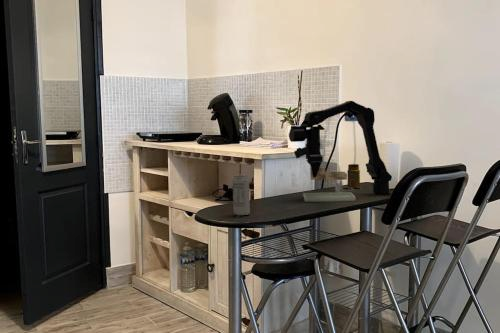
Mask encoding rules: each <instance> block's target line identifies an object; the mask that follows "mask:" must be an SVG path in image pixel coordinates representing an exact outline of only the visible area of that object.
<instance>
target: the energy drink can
mask: <svg viewBox="0 0 500 333" xmlns="http://www.w3.org/2000/svg"><path fill="white" fill-rule="evenodd" d="M250 198H251V197H250V179H249V177H248V174H244V173H243V174H234V175H233V178H232V199H233V200H232V201H233V202H232V204H233V214H234V215H235V214H236V215H248V214H250V213H251V207H250V206H251V205H250V204H251V202H250ZM248 216H249V215H248Z"/></svg>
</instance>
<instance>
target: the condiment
mask: <svg viewBox="0 0 500 333" xmlns="http://www.w3.org/2000/svg"><path fill="white" fill-rule="evenodd" d="M347 166H348V167H347V172H346V173H347V187H353V188H357V187H361V179H360V178H361V175H360V174H361V170H360V164H358V163H353V164H352V163H350V164H348V165H347Z"/></svg>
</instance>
